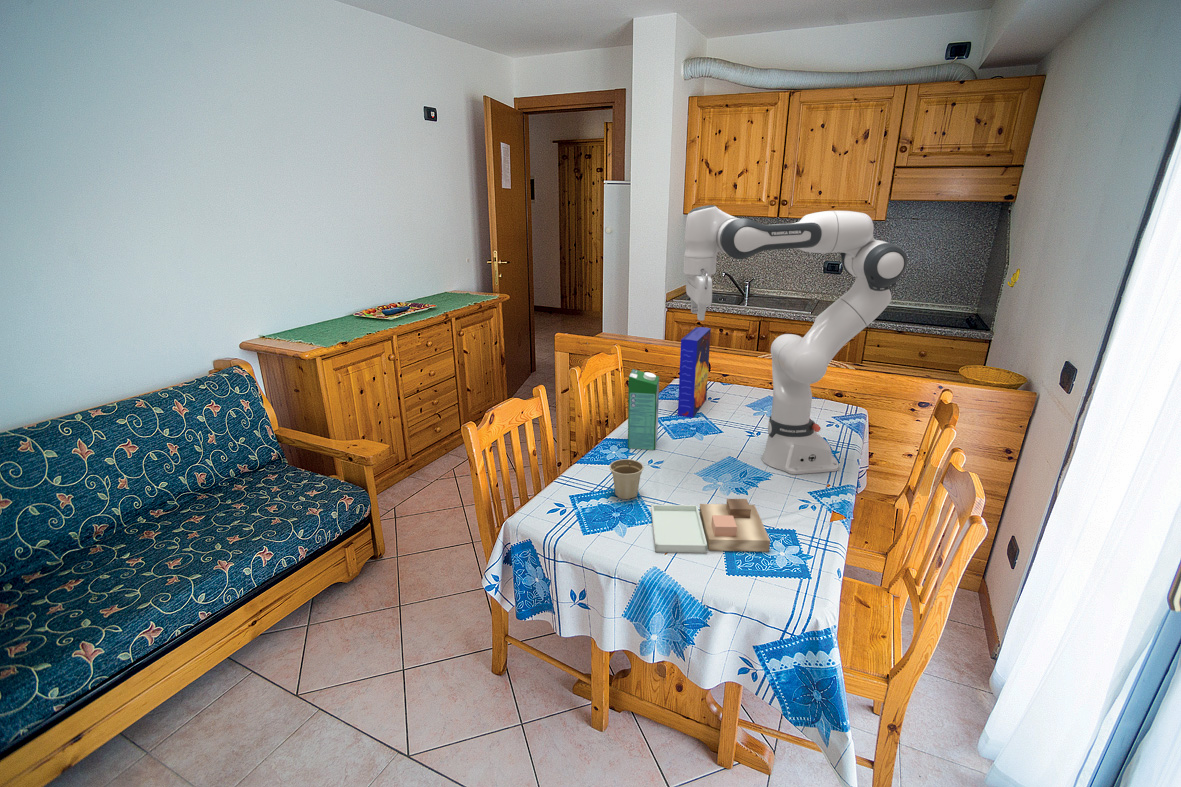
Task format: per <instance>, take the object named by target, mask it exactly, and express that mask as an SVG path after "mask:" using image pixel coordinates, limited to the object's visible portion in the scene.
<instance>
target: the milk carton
mask: <svg viewBox="0 0 1181 787" xmlns="http://www.w3.org/2000/svg"><path fill="white" fill-rule="evenodd" d="M659 390H660V376H658V375H656V374H655V373H653V372H646V371H642V370H638V369H636V368H635V369H634V368H632V369H631V371H630V374H629V376H628V397H627V398H628V400H627V401H628V402H627V403H628V404H627V406H628V408H627V409H628V410H627V411H628V412H627V448H628V449H635V450H649V451H650V450H651V451H656V447H657V443H658V433H659V432H658V431H659V430H658V429H659V428H658V427H659V400H660V399H659V396H660V395H659V394H660V393H659V392H660V391H659Z"/></svg>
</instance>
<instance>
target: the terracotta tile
mask: <svg viewBox="0 0 1181 787" xmlns="http://www.w3.org/2000/svg"><path fill="white" fill-rule="evenodd" d="M711 524H712V528H713V532H714V535H715V536H736V533H737V526H736V523H735V520H734V517H733V516H726V515H712V523H711Z"/></svg>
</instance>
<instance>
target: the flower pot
mask: <svg viewBox="0 0 1181 787" xmlns="http://www.w3.org/2000/svg"><path fill="white" fill-rule="evenodd" d="M644 467H645V466H644V464H643V463H642V462H640V461H638V460H635V459H630V458H625V459H624V458H622V459H616V460H614V461H611V463H609V469H610V471H611V472H610V473H611V474H612V479H613V480H612V481H613V486H614V494H615V496H616V497H618V498H619V499H623V500H630V499H632V498H636V497H637V496H638V491H639V486H640V481H641V475H642V473H643V470H644V469H645V468H644Z"/></svg>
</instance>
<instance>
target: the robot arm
mask: <svg viewBox="0 0 1181 787" xmlns="http://www.w3.org/2000/svg"><path fill="white" fill-rule="evenodd" d="M684 228H685V229H684V244H685V251H684V254H683V274H684V275H685V292H686V296H688V297H689V298H690V306H691V308H690V312H691V314H693V315H694V314H695V315H696V316H697V318H696V319H697V320H698V321H705V316H706V311H707V307H711V306H712V302H713V280H712V275H715V274H716V272H717V257H718V256H717V254H718V253H725V254H726V255H727V256H728V257H731V258H732V259H734V260H735V259H736V260H745V259H749V258H751V257H753V256H755V255H757V254H759V253H761V252H765V251H773V250H774V251H776V250H789V249H791V250H792V249H796V250H800V251H802V252H806V253H811V254H813V253H814V254H833V253H834V254H835V253H840V262H841V263H840V264H841V266H842V268H843V270H844V271H845V272H846V274H848V275H850V276H852V277H855V279H854V283H853V284H852V286H851V287H850V288H849V290H847V292H845V293H844V294H843V295H841V296H840V297H839V298H838V299H836V300H835V301H833V303H831V304H830V305H829V306H828V307H827V308H826V309H825V310H823V311H822V312H821V313H819V314H818V315H817V316H816V318H815V319H814V322H813V324H812V326H811V327H810V329H809V330H808V331H806V333H805V334H804V336H803V337H802V336H800V335H798V334H792V333H784V334H781V335H779V336H777V337H776V338H775V339H774V340H773V341H772V343H771V346H770V354H771V364H772V365H771V368H772V371H771V372H772V386H773V388H772V390H773V393H772V394H773V395H772V402H771V404H772V406H771V415H770V416H769V418H768V419H769V420H768V424H767V434H768V436H767V440H766V443H765V447H764V450H763V453H762V454H761V460H762V462H763V463H764V464H766V465H767V466H769V467H772V468H774V469H777V470H781V471H784V472H785V473H787V474H790V475H802V474H803V475H804V474H815V473H829V472H837V471H838V470H839V469H840V468H839V466H840V465H839V462H838V460H837V458H836V457H835V456H834V455H833V454H832V448H831V446H830V444H829V442H827V440H825V438H824V437H822V436H821V435H820V434H819V432H820V431H821V428H822V427H821V426H820V424H818V423H816V422H815V421H814V420H813V419H811V418H810V416H811V410H812V402H813V392H812V388H811V385H812V384H816V383H817V382H819V381H821V380H822V379H823V377H825V375H826V372H827V370H828V366H829V364H830V363H831V362H832V360H833V359H834V357H835V356H836V355H837V354H838V352H840V350H842V348H843V347H844V346H845V345H846V344H847V343H848V342H850V341H851V340H852V339H853V338H855V337H856V336H857V335H858V334H860V332H862V331H863V330H864V329H865V328H867V327H868V326H869V325H870V324H871V323H873V321H874V320H876V319H877V318H878V317H879V316H880V315H881V314H882V313H883V311H884V310H885V309H886V308H887V307H888V306H889V305H890V304H891V301H892V294H891V291H890V289H892V288H894V287H895V286H896V284H897V282H898V281H899V279H900V278H901V277H902V276H903V274H904V273H905V272H906V269H907V266H908V257H907V254H906V252H905V251H904V250H903V249H902V248H901V247H900V246H898V245H896V244H895V243H890V242H888V241H884V240H879V239H875V237H874V230H875V228H874V221H873V219H872V218H871V216H869V215H868V214H866V213H865V212H859V211H852V210H825V211H818V212H812V213H809V214H805V215H804V216H802V218H801V219H800V220H799V221H797V222H792V223H779V224H763V223H759V222H757V221H755V220H753V219H750V218H747V217H745V218H741V217H740V218H738V217H736V216H733V215H730V214H729V213H727V212H725V211H723V210H721V209H720V208H718V207H717V206H716V205H713V204H709V205H702V206H699V207H695V208H692V209H691V210H690V211H689V212H688V214H687V216H686V221H685V227H684Z"/></svg>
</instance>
